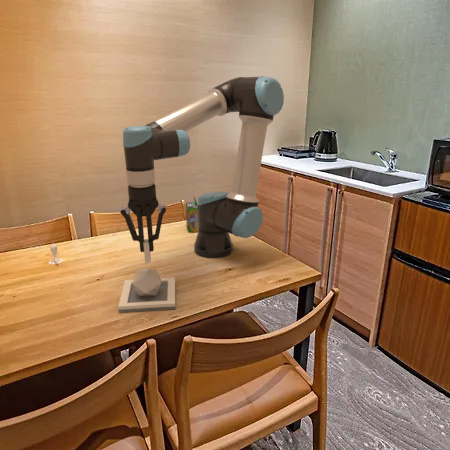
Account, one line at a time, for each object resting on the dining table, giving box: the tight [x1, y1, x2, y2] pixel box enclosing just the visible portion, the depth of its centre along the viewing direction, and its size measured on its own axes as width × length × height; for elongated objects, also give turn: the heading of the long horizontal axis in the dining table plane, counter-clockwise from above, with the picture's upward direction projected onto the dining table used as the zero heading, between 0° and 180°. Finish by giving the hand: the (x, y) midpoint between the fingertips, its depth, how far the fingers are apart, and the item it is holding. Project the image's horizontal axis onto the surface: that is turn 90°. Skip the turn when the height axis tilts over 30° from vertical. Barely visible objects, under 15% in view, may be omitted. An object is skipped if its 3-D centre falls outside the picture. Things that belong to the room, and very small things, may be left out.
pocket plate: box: [117, 277, 176, 313], centre depth 119 cm, size 16×16×2 cm
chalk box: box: [185, 196, 198, 233], centre depth 174 cm, size 9×9×15 cm
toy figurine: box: [47, 243, 64, 265], centre depth 141 cm, size 5×8×7 cm, turn 31°
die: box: [132, 268, 162, 296], centre depth 118 cm, size 8×9×10 cm
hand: (148, 261), depth 116 cm, fingers closed
